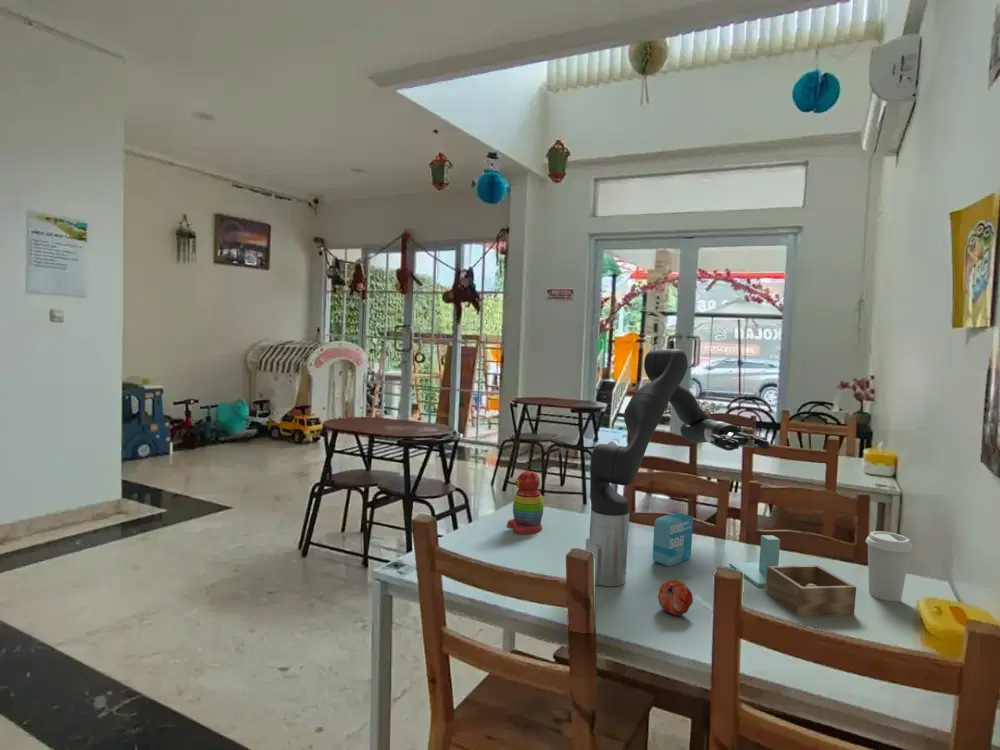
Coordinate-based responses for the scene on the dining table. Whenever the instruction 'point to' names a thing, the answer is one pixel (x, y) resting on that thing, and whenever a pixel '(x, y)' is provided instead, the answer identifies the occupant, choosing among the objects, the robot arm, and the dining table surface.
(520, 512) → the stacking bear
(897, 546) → the coffee cup
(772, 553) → the lid
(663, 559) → the data package
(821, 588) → the box
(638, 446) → the robot arm
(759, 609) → the dining table surface
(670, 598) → the pomegranate
